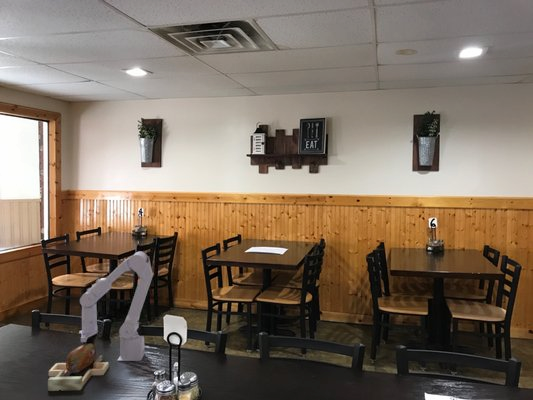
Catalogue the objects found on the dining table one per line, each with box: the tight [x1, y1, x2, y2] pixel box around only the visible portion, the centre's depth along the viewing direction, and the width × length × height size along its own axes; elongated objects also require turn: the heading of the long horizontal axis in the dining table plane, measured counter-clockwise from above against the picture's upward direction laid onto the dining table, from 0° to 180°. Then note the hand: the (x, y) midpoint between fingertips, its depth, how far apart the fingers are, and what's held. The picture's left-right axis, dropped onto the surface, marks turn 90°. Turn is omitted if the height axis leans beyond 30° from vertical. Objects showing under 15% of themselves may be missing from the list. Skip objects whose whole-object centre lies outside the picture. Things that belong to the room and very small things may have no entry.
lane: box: [47, 354, 103, 392], centre depth 164 cm, size 11×26×4 cm, turn 4°
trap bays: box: [48, 361, 110, 377], centre depth 166 cm, size 20×7×2 cm, turn 94°
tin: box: [65, 343, 97, 374], centre depth 170 cm, size 15×3×8 cm, turn 165°
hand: (89, 353), depth 178 cm, fingers closed
